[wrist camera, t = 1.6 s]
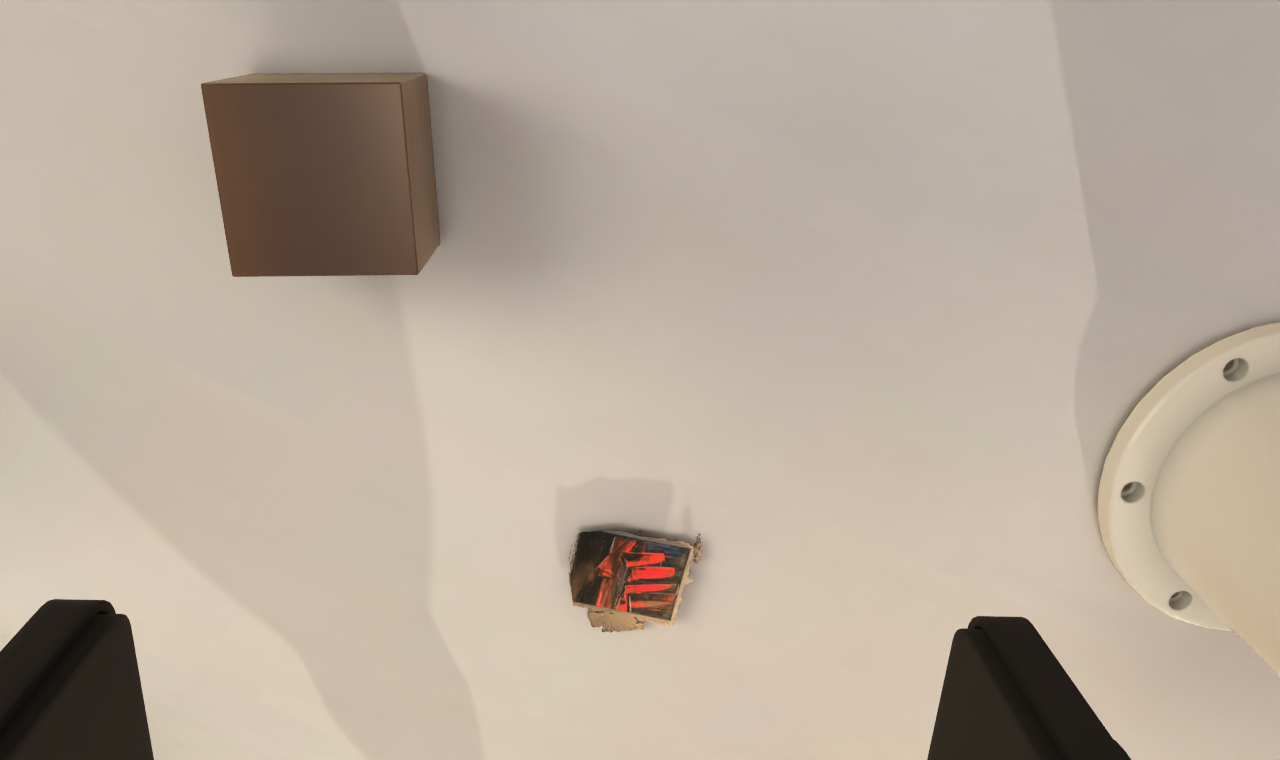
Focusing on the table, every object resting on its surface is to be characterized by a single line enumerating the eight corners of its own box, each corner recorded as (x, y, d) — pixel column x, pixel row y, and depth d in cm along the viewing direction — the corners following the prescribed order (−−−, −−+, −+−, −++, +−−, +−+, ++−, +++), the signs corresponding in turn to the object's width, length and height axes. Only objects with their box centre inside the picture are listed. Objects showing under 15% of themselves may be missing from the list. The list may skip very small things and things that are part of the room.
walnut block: (426, 72, 30) (400, 82, 26) (440, 244, 32) (418, 274, 28) (251, 73, 30) (199, 83, 26) (276, 245, 32) (231, 277, 28)
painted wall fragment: (565, 528, 36) (564, 535, 36) (700, 521, 36) (701, 528, 36) (573, 630, 38) (573, 638, 37) (703, 624, 38) (704, 631, 37)
